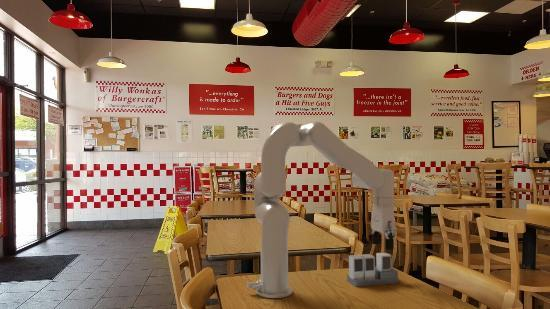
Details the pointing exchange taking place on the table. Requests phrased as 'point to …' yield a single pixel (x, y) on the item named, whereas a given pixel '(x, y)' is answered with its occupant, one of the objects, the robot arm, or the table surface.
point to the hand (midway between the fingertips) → (382, 246)
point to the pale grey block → (383, 261)
